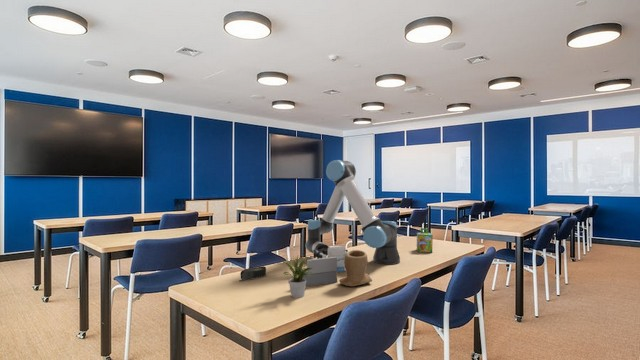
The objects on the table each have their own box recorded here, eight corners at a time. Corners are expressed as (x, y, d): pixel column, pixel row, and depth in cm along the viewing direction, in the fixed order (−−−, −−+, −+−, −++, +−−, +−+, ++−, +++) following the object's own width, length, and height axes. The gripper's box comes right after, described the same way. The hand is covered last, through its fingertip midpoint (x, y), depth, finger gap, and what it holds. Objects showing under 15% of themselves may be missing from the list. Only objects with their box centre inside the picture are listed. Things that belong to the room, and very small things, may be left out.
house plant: (283, 304, 129) (283, 261, 129) (273, 293, 142) (273, 253, 142) (318, 299, 135) (318, 257, 135) (305, 289, 148) (305, 250, 148)
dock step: (322, 273, 172) (322, 251, 172) (337, 282, 157) (337, 257, 157) (296, 276, 166) (295, 253, 166) (308, 286, 152) (308, 260, 152)
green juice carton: (417, 252, 221) (417, 229, 222) (416, 249, 231) (416, 227, 231) (432, 252, 220) (432, 229, 220) (430, 249, 229) (430, 227, 229)
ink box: (343, 272, 175) (343, 249, 175) (327, 271, 176) (327, 248, 176) (345, 267, 183) (345, 246, 183) (330, 267, 185) (329, 245, 185)
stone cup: (351, 290, 145) (351, 255, 145) (335, 283, 155) (335, 250, 155) (379, 285, 153) (379, 251, 153) (362, 278, 163) (362, 246, 163)
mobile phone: (263, 265, 171) (237, 270, 160) (267, 266, 169) (240, 271, 158) (263, 275, 171) (237, 281, 160) (267, 276, 169) (240, 282, 158)
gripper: (340, 254, 203) (358, 261, 183) (300, 258, 192) (315, 266, 173) (340, 241, 203) (358, 247, 183) (300, 244, 192) (315, 251, 173)
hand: (337, 256), depth 178 cm, fingers open, 13 cm apart
